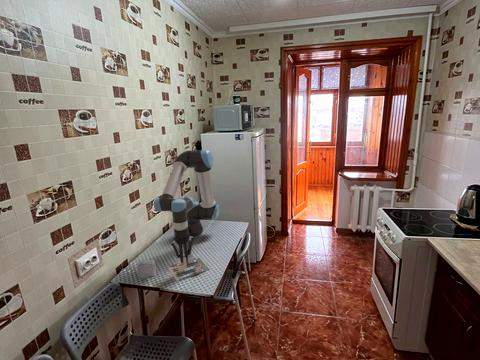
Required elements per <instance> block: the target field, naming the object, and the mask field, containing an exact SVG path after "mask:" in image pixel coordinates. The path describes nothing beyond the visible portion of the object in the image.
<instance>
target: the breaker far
mask: <svg viewBox="0 0 480 360" xmlns="http://www.w3.org/2000/svg"><path fill="white" fill-rule="evenodd" d="M194 258H195V257H194V255H193V254H190V255H188V261H187V262H186V263H187V264H190V263H193V262H195V260H194Z"/></svg>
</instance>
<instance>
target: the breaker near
mask: <svg viewBox="0 0 480 360" xmlns="http://www.w3.org/2000/svg"><path fill="white" fill-rule="evenodd" d="M197 263H198V262H197ZM194 264H195V263H194ZM193 268H195V269H194V270H195V271H194V272H195V274H196V273H199V272H202V271H203V269H202V267H201V265H200V264H199V263H198V264H195V265H194V266H193Z"/></svg>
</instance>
